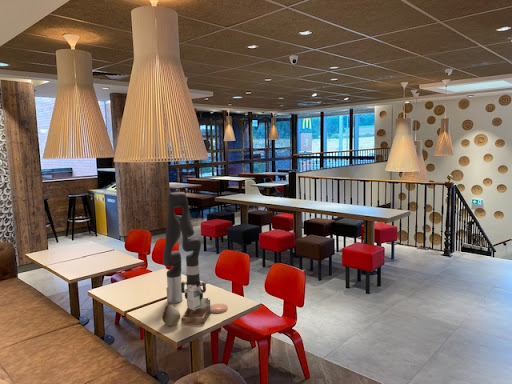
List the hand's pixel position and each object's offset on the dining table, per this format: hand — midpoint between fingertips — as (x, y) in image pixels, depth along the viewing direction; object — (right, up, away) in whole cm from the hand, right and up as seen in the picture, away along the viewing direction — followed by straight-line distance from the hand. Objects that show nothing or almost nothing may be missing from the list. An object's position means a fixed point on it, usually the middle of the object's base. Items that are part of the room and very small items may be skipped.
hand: (194, 298), depth 224 cm
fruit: (-12, -14, -4) cm, 19 cm away
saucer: (+13, -10, +13) cm, 21 cm away
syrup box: (0, -6, +1) cm, 6 cm away
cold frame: (+1, -12, +1) cm, 12 cm away
